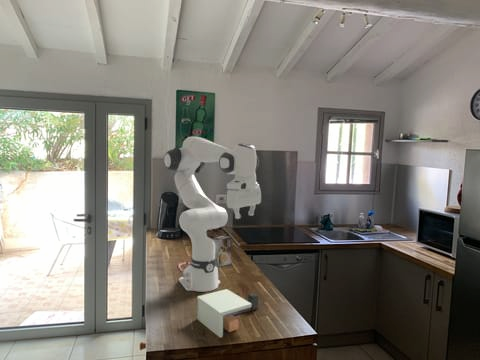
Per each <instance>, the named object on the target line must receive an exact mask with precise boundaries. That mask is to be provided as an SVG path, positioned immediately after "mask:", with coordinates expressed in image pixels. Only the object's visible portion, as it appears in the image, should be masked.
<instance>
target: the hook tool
mask: <svg viewBox="0 0 480 360" xmlns="http://www.w3.org/2000/svg"><path fill="white" fill-rule="evenodd" d="M247 301H248V302H250V303H251V304H252V307H249V308H246V309H243V310H239V311H236V312H233V313H229V314H226V315H223V321H224V317H228V316H231V315H233V316H234V317H235V316H236V315H240V314H243V312H244V313H247V312H249V311H255V310H258V309H259V294H257V293H255V292H251V293H248V295H247Z"/></svg>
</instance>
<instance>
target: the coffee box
mask: <svg viewBox="0 0 480 360" xmlns="http://www.w3.org/2000/svg"><path fill="white" fill-rule="evenodd" d="M212 240H213V241H214V242H215V258H216V267H217V268H219V267H224V266H227V265H231V264H232V237H231V236H228V235H220V236H213V237H212Z"/></svg>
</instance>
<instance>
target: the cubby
mask: <svg viewBox="0 0 480 360" xmlns="http://www.w3.org/2000/svg"><path fill="white" fill-rule="evenodd" d="M249 307H252V304H251V303H250V302H248V300H246V299H244V298H243V297H242V296H239V295H237V294H236V293H235V292H233V291H231V290H229V289H227V288H225V289H222V290H218V291H217V290H216V291H214V292H209V293H206V294H202V295H198V296H197V297H196V320H198V321H199V323H201V324H202V325H204V327H207V329H209V331H211V332H212V333H214V334H215V335H216V336H217V337H218V338H220V339H221V338H223V336H224V328H223V315H226V314H229V313H233V312H236V311H239V310H243V309H246V308H249Z"/></svg>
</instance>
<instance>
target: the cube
mask: <svg viewBox="0 0 480 360" xmlns="http://www.w3.org/2000/svg"><path fill="white" fill-rule="evenodd" d="M223 330H225V331H226V332H228V333H231V332H234V331H237V330H239V318H237V317H236V316H235V315H234V316H233V315H231V316H228V317H224V321H223Z"/></svg>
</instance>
